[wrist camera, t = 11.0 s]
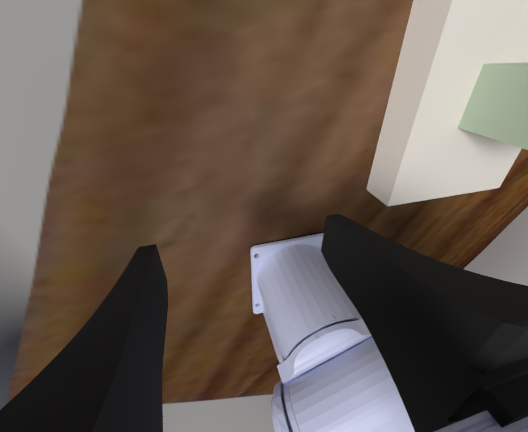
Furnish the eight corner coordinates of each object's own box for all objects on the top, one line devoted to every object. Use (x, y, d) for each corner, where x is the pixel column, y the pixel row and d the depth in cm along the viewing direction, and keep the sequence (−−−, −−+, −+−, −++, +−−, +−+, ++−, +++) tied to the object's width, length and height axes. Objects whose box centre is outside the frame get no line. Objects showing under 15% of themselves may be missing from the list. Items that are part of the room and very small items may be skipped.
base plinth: (469, 174, 26) (499, 187, 24) (366, 189, 24) (387, 206, 21) (576, -46, 17) (639, -59, 15) (428, -61, 15) (477, -80, 12)
